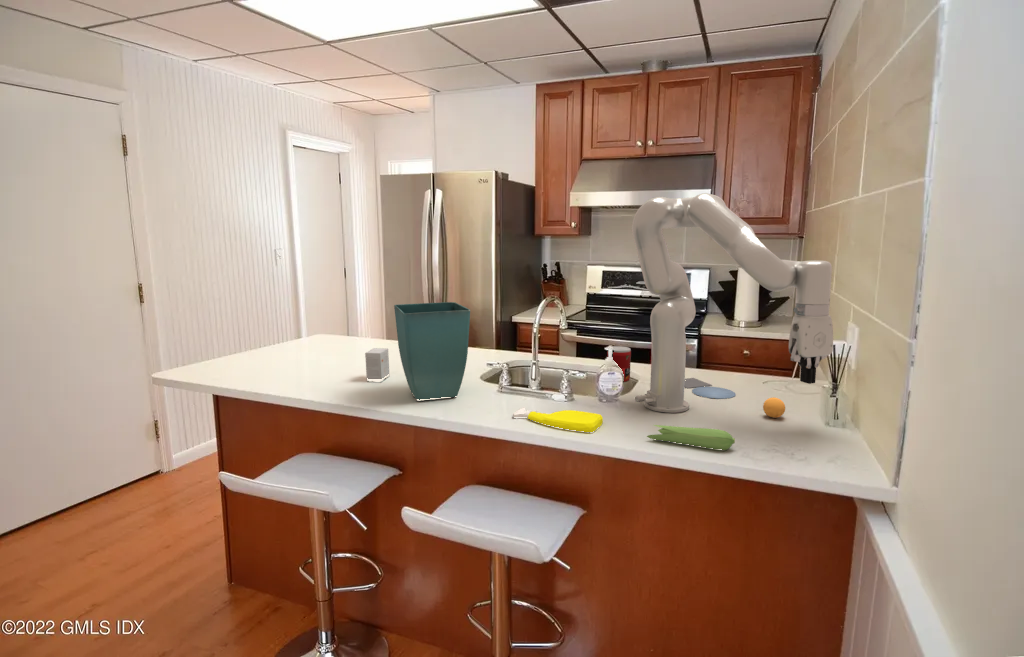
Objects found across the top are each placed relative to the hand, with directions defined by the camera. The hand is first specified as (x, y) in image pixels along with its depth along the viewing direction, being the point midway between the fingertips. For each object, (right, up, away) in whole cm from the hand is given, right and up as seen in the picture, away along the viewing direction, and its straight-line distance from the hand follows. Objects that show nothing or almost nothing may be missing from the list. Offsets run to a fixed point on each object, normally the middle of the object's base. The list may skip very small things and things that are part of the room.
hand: (807, 382), depth 140 cm
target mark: (-11, -7, +35) cm, 37 cm away
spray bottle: (-63, -12, +10) cm, 65 cm away
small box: (-122, -5, +55) cm, 134 cm away
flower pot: (-100, -8, +35) cm, 106 cm away
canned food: (-38, -4, +52) cm, 65 cm away
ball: (-3, -8, +11) cm, 14 cm away
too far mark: (-15, -5, +46) cm, 49 cm away
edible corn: (-32, -15, -7) cm, 36 cm away
